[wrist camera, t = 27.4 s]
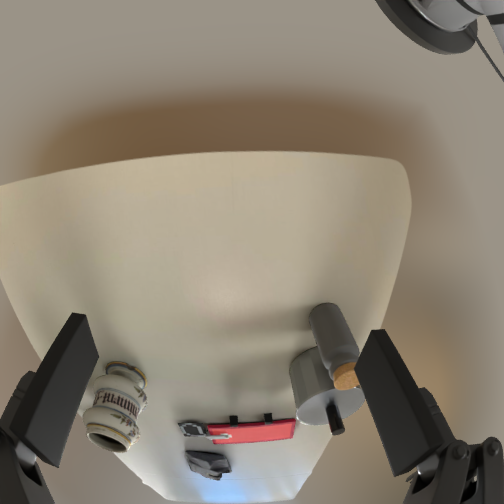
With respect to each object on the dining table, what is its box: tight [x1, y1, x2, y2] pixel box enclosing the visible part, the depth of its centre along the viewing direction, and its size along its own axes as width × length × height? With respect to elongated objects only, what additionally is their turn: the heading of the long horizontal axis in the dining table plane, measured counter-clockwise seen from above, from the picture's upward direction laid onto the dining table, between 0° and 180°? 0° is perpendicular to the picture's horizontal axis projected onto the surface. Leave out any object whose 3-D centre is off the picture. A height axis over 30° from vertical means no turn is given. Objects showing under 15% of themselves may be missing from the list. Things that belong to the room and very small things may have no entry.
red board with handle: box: [178, 413, 296, 444], centre depth 63 cm, size 30×3×15 cm
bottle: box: [309, 303, 360, 390], centre depth 41 cm, size 6×6×15 cm
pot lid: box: [296, 386, 365, 435], centre depth 42 cm, size 13×13×7 cm
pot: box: [290, 347, 361, 408], centre depth 49 cm, size 12×12×10 cm
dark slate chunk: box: [186, 451, 232, 480], centre depth 74 cm, size 15×22×5 cm
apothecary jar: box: [83, 362, 148, 453], centre depth 45 cm, size 12×12×18 cm
